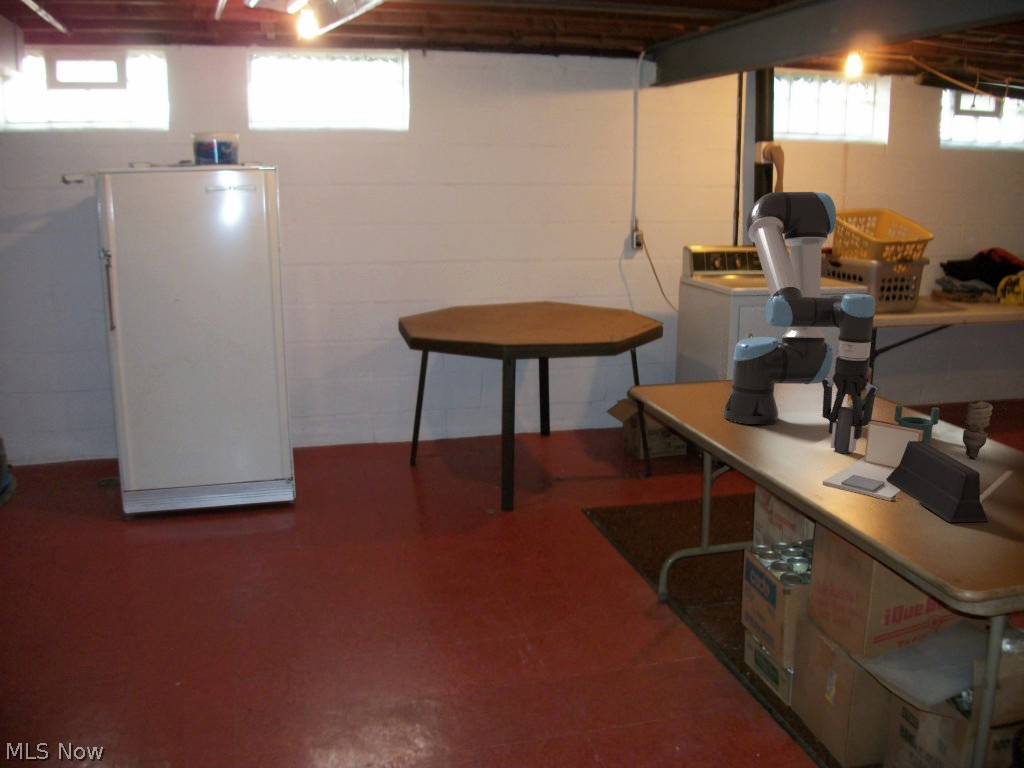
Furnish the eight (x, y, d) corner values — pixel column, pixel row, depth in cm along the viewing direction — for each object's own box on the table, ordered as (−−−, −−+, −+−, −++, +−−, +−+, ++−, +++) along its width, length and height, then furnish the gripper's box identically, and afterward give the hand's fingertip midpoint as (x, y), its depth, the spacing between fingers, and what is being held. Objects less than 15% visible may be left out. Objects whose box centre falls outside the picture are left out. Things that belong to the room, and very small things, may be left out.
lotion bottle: (845, 419, 250) (852, 351, 245) (845, 415, 255) (852, 348, 250) (866, 422, 248) (873, 353, 243) (866, 417, 253) (873, 350, 248)
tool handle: (831, 454, 217) (836, 408, 215) (837, 451, 220) (842, 405, 217) (847, 458, 215) (852, 411, 212) (853, 454, 218) (858, 408, 215)
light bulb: (988, 460, 215) (996, 401, 211) (980, 464, 211) (989, 405, 208) (964, 454, 219) (972, 397, 215) (956, 459, 215) (964, 401, 211)
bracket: (938, 440, 231) (942, 408, 229) (916, 445, 226) (920, 412, 224) (908, 432, 238) (912, 401, 236) (886, 436, 234) (890, 404, 232)
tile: (864, 461, 209) (868, 422, 207) (866, 460, 211) (871, 420, 208) (915, 473, 202) (920, 432, 199) (918, 471, 203) (923, 430, 201)
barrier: (885, 479, 196) (892, 438, 194) (920, 479, 198) (928, 437, 195) (949, 522, 174) (958, 476, 171) (988, 522, 175) (998, 475, 172)
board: (822, 484, 196) (823, 478, 196) (866, 458, 215) (866, 453, 214) (890, 500, 186) (891, 494, 186) (929, 472, 205) (930, 466, 204)
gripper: (812, 354, 215) (804, 444, 220) (882, 364, 203) (871, 459, 209) (825, 350, 220) (816, 438, 225) (893, 360, 209) (882, 452, 214)
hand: (843, 448), depth 217 cm, fingers closed on tool handle, 4 cm apart
